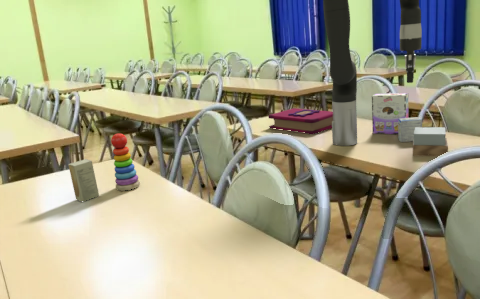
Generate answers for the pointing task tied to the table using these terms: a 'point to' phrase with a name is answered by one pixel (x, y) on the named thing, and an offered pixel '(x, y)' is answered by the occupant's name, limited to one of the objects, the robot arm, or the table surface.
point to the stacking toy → (123, 164)
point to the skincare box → (83, 180)
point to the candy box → (388, 111)
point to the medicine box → (408, 128)
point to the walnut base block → (430, 149)
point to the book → (302, 120)
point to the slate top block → (429, 136)
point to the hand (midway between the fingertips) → (410, 81)
